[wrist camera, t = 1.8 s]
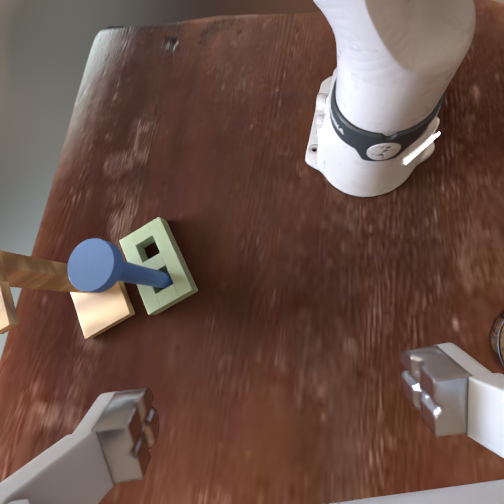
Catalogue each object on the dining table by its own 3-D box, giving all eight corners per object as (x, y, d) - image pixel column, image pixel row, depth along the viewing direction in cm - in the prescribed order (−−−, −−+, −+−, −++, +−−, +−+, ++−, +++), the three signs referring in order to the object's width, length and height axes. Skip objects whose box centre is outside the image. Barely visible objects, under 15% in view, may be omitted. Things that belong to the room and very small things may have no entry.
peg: (153, 263, 50) (71, 238, 33) (186, 263, 49) (117, 237, 32) (150, 298, 49) (63, 291, 32) (183, 299, 48) (110, 292, 31)
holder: (166, 220, 51) (159, 216, 49) (198, 290, 48) (192, 289, 45) (128, 243, 52) (119, 240, 50) (156, 314, 48) (148, 314, 46)
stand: (137, 318, 49) (12, 323, 29) (93, 344, 50) (-59, 365, 30) (116, 262, 52) (-11, 231, 32) (75, 287, 53) (-74, 271, 33)
